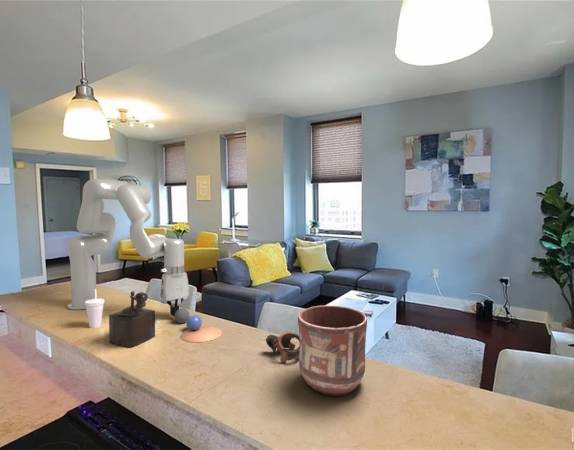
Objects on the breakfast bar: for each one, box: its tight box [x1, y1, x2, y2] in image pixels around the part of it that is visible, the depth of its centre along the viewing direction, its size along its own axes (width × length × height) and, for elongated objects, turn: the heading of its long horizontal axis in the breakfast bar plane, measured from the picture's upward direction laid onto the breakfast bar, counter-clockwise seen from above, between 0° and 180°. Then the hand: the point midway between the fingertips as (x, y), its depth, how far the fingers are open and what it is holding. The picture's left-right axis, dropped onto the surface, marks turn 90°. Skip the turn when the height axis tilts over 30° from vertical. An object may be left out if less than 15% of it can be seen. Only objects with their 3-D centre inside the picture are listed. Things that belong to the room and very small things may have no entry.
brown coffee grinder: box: [108, 290, 156, 348], centre depth 109 cm, size 16×11×18 cm
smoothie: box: [85, 288, 105, 329], centre depth 121 cm, size 6×6×14 cm
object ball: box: [185, 314, 203, 331], centre depth 119 cm, size 6×6×6 cm
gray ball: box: [174, 307, 190, 324], centre depth 126 cm, size 6×6×6 cm
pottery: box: [297, 304, 368, 397], centre depth 84 cm, size 18×18×18 cm
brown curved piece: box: [265, 331, 300, 364], centre depth 99 cm, size 12×10×8 cm
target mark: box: [180, 326, 223, 343], centre depth 115 cm, size 14×14×1 cm
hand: (174, 315), depth 130 cm, fingers closed
